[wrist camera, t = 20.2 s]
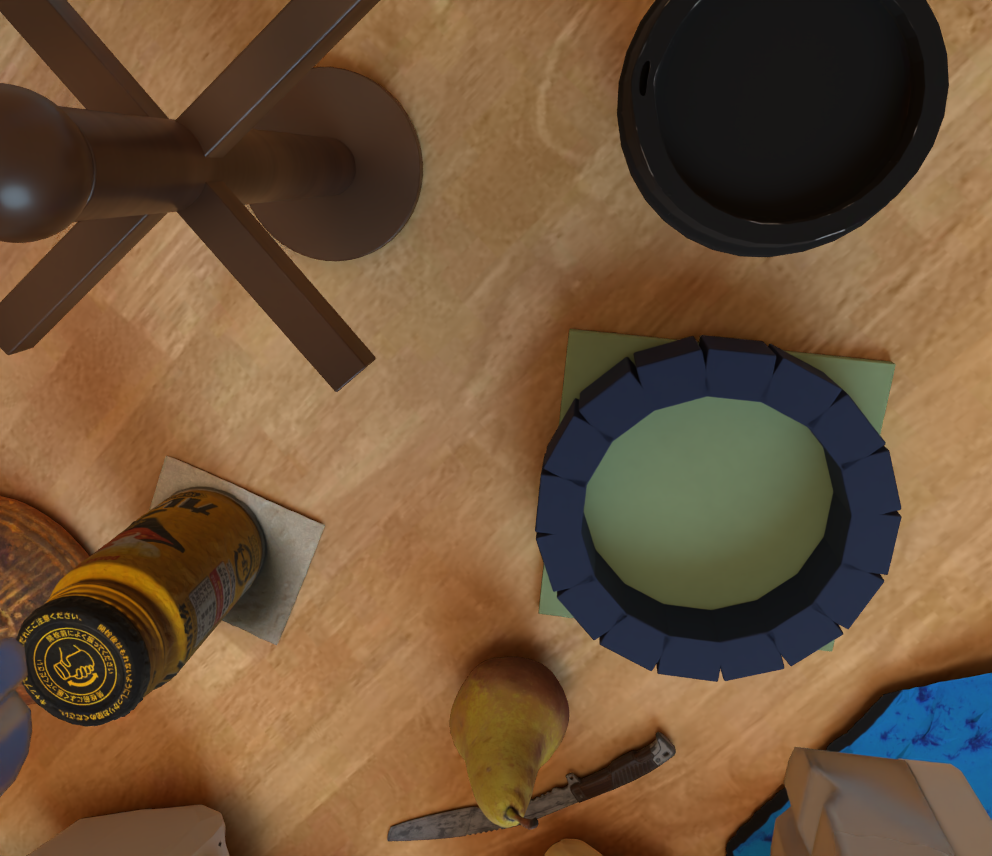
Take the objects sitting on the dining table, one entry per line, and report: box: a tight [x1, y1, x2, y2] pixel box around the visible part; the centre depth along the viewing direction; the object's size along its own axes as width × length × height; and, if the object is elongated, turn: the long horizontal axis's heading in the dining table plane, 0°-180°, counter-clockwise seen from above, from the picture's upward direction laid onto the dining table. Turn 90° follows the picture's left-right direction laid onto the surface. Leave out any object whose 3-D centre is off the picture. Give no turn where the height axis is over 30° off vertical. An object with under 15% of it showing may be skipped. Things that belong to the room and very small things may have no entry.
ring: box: [535, 335, 901, 682], centre depth 39 cm, size 15×15×3 cm
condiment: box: [16, 456, 325, 726], centre depth 38 cm, size 7×8×12 cm
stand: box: [0, 0, 423, 392], centre depth 27 cm, size 11×11×24 cm
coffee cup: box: [617, 0, 949, 257], centre depth 29 cm, size 8×8×15 cm
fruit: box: [449, 657, 569, 829], centre depth 39 cm, size 6×6×12 cm
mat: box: [539, 329, 895, 651], centre depth 40 cm, size 14×14×1 cm
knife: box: [388, 732, 676, 841], centre depth 46 cm, size 17×1×3 cm
